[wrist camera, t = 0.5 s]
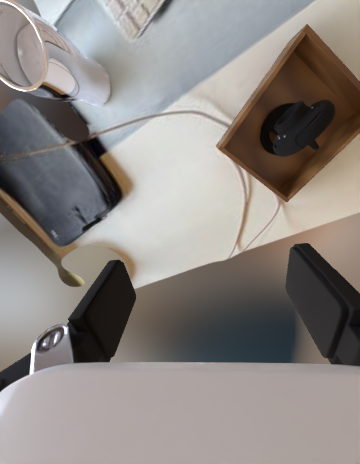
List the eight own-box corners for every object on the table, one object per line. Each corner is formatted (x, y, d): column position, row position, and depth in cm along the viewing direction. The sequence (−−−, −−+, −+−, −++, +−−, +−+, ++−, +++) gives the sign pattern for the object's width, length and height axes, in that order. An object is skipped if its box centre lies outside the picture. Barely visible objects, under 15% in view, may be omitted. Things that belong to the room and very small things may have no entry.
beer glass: (104, 49, 28) (21, -23, 15) (119, 104, 31) (62, 83, 18) (64, 62, 29) (-46, 6, 16) (83, 113, 32) (4, 101, 19)
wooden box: (289, 41, 26) (307, 23, 21) (357, 112, 29) (385, 108, 25) (215, 146, 33) (218, 148, 29) (276, 194, 36) (286, 202, 32)
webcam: (288, 90, 28) (329, 71, 19) (318, 125, 30) (367, 122, 21) (249, 135, 31) (268, 137, 23) (277, 164, 33) (306, 176, 24)
